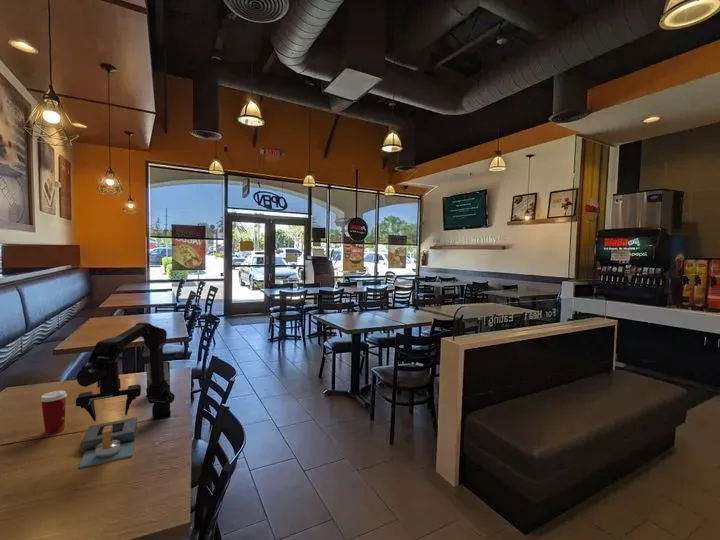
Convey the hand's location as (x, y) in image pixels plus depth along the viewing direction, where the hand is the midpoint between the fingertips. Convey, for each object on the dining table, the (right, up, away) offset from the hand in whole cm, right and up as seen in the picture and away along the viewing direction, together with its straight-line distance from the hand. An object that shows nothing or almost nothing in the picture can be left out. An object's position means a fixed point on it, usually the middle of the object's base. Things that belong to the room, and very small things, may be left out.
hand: (110, 417), depth 129 cm
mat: (0, -13, -1) cm, 13 cm away
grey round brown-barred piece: (0, -12, -1) cm, 12 cm away
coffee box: (-12, -10, +53) cm, 55 cm away
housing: (-6, -12, +10) cm, 17 cm away
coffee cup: (-33, -12, +16) cm, 39 cm away
